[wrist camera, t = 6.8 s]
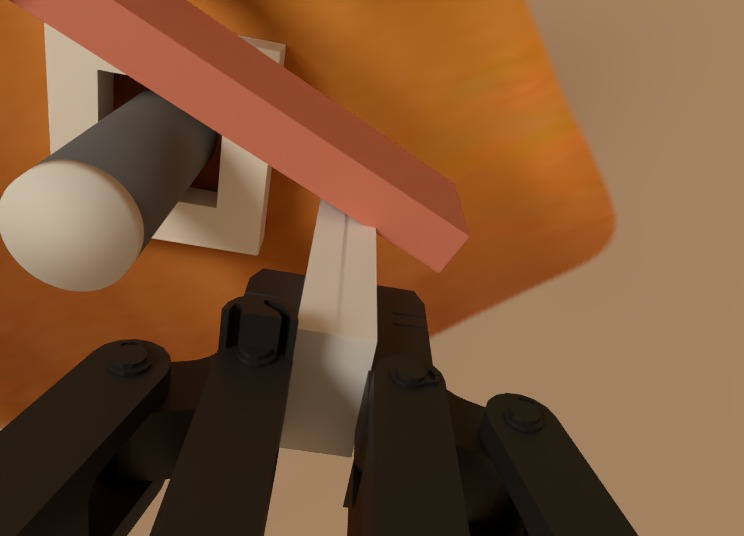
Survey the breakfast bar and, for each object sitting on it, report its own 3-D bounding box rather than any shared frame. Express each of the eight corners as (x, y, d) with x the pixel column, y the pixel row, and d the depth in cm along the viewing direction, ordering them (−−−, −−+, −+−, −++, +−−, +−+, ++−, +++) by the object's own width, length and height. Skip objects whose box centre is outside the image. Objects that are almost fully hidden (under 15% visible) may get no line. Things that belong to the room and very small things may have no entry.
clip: (413, 235, 19) (420, 304, 16) (-46, -61, 16) (-169, -57, 12) (471, 161, 18) (493, 217, 15) (-7, -175, 15) (-130, -207, 11)
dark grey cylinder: (126, 165, 33) (3, 280, 22) (126, 76, 30) (-9, 156, 20) (214, 180, 33) (135, 301, 22) (220, 93, 31) (137, 181, 20)
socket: (71, 206, 34) (-90, 351, 22) (58, -150, 26) (-192, -210, 15) (263, 238, 34) (205, 395, 23) (302, -99, 27) (246, -119, 16)
